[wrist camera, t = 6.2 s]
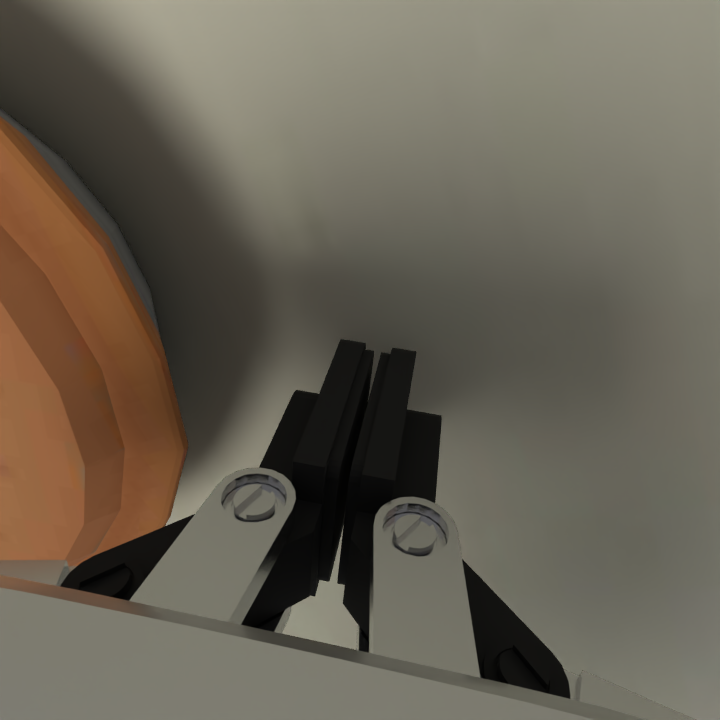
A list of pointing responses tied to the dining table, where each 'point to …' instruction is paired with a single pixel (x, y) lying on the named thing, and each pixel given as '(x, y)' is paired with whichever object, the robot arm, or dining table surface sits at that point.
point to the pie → (76, 370)
